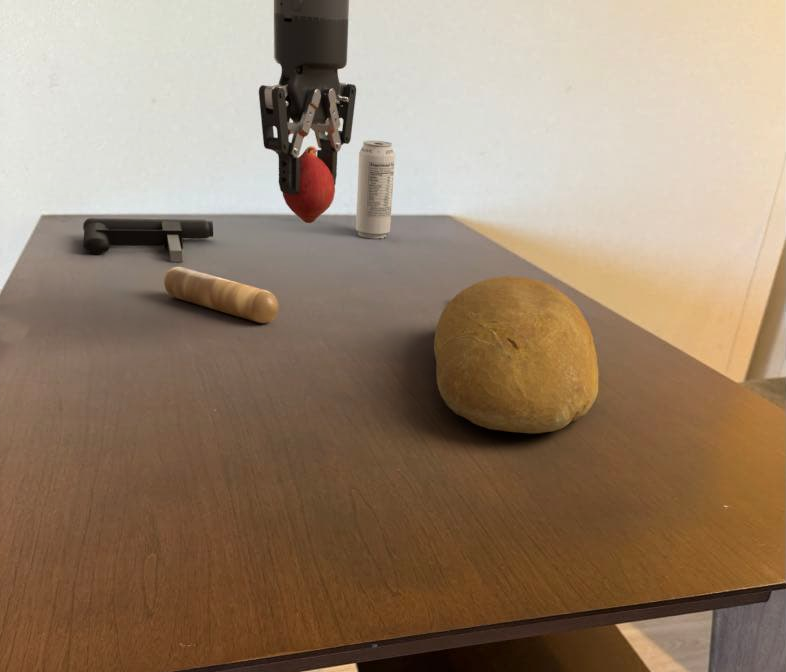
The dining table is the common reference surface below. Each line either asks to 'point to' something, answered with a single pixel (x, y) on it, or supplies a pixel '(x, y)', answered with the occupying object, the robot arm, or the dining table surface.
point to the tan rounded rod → (221, 294)
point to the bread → (515, 356)
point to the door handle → (143, 233)
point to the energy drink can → (375, 189)
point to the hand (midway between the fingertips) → (308, 189)
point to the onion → (312, 188)
